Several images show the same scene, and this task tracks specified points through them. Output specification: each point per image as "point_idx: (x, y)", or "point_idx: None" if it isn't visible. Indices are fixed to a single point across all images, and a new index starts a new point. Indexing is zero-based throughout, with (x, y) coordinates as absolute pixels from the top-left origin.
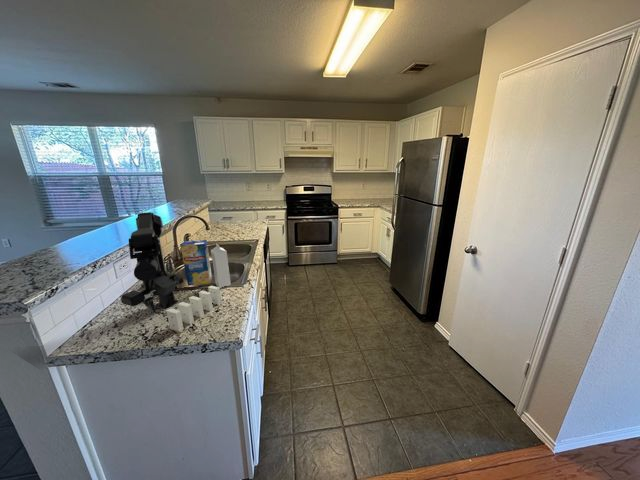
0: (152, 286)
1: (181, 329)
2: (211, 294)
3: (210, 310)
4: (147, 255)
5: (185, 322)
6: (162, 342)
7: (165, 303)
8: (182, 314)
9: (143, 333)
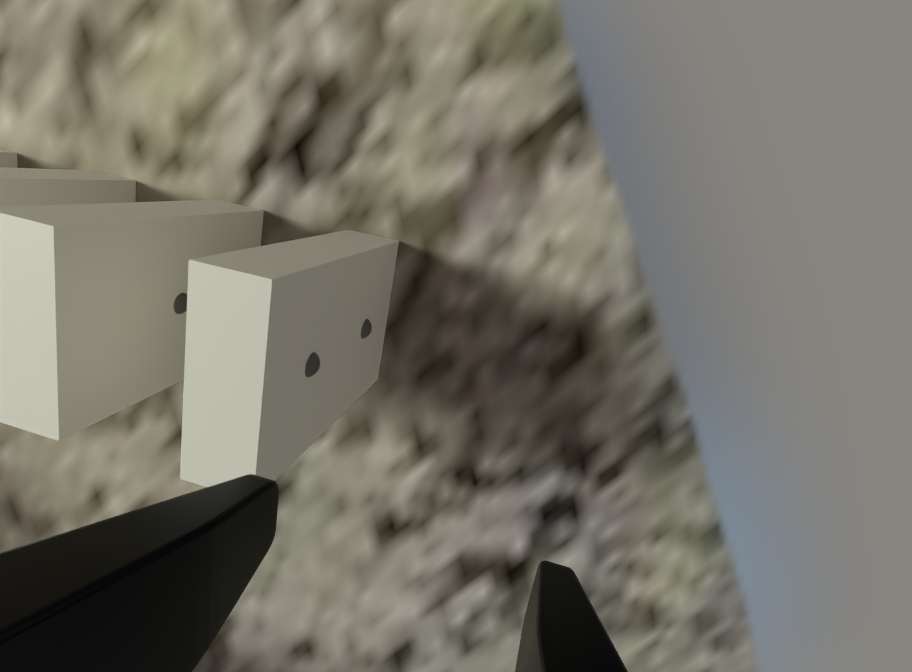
0: None
1: (368, 235)
2: None
3: (5, 151)
4: None
5: None
6: (594, 300)
7: (185, 526)
8: None
9: (499, 582)
